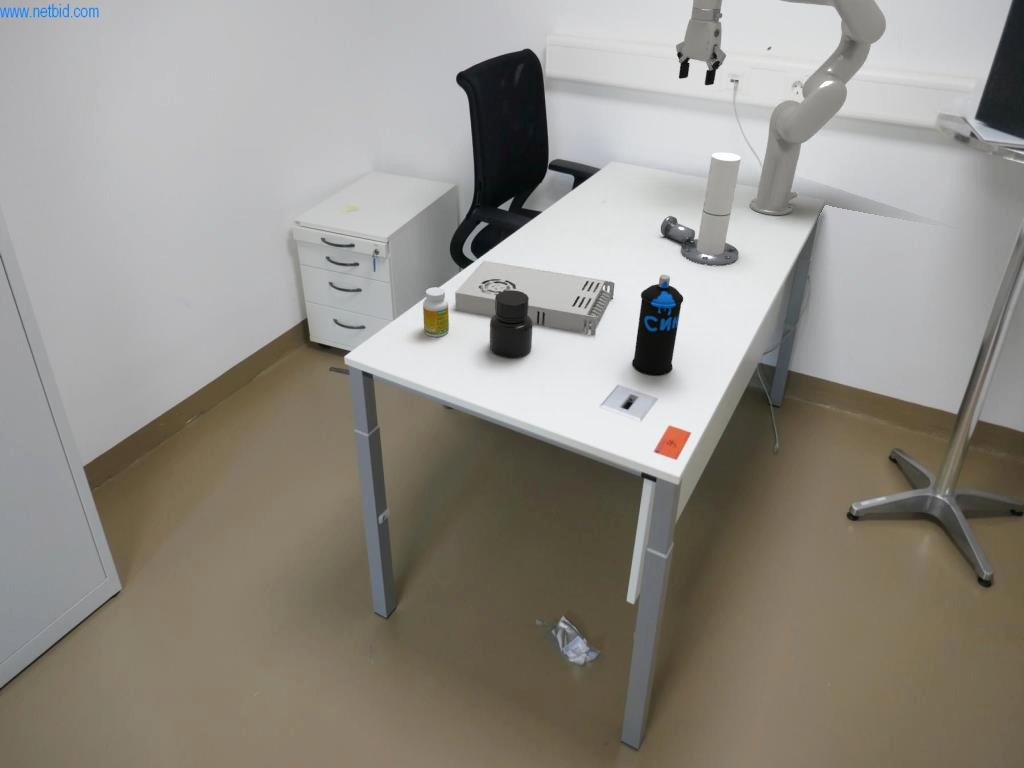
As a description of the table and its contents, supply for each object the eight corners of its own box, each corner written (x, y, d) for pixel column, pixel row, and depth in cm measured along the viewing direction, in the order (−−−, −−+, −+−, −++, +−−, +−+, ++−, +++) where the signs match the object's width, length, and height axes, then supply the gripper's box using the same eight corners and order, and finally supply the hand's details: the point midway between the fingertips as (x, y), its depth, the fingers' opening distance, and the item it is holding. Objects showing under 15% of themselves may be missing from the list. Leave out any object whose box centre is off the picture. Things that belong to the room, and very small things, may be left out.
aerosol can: (628, 355, 165) (639, 268, 154) (666, 354, 165) (680, 267, 154) (636, 376, 158) (648, 286, 147) (676, 375, 158) (691, 285, 148)
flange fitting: (749, 257, 209) (753, 237, 206) (711, 270, 202) (715, 250, 199) (684, 229, 225) (687, 210, 222) (647, 240, 217) (650, 221, 214)
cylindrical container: (721, 245, 213) (738, 153, 199) (725, 255, 207) (742, 161, 193) (695, 243, 213) (710, 151, 200) (697, 254, 207) (713, 160, 194)
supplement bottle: (439, 340, 168) (437, 299, 163) (419, 333, 170) (417, 292, 165) (453, 329, 172) (453, 289, 167) (433, 323, 174) (432, 283, 169)
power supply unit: (594, 337, 172) (596, 317, 169) (455, 312, 180) (454, 292, 178) (612, 300, 187) (614, 281, 185) (483, 279, 196) (483, 260, 193)
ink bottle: (537, 341, 169) (539, 291, 162) (528, 362, 161) (530, 310, 155) (493, 335, 170) (494, 285, 164) (482, 355, 163) (483, 304, 157)
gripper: (739, 18, 209) (728, 85, 218) (691, 10, 220) (682, 74, 230) (721, 20, 205) (710, 88, 214) (672, 11, 217) (664, 77, 226)
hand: (695, 81), depth 222 cm, fingers open, 9 cm apart
